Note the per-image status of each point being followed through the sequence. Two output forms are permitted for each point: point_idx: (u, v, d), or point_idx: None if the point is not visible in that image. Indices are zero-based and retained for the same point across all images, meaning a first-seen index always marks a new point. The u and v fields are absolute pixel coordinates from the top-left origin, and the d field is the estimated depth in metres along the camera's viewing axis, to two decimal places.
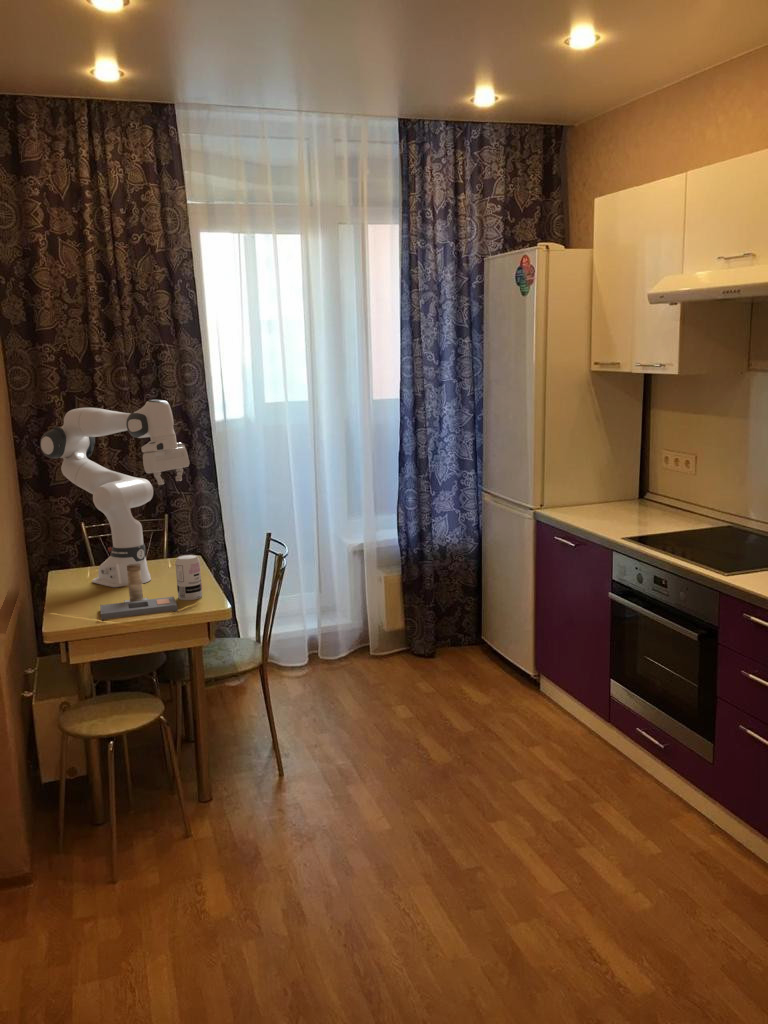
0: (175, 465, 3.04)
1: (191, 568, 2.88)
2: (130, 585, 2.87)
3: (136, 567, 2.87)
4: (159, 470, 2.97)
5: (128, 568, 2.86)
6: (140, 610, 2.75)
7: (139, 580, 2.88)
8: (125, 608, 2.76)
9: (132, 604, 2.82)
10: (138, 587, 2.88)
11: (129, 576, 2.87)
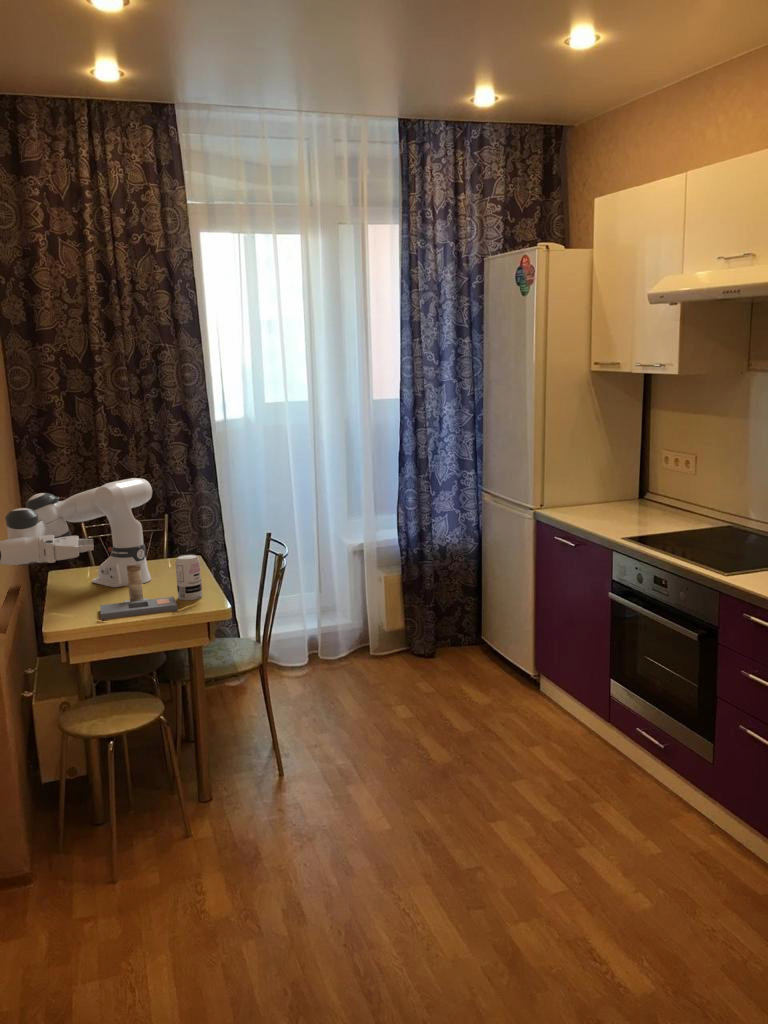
0: (74, 539, 2.82)
1: (191, 568, 2.88)
2: (130, 585, 2.87)
3: (136, 567, 2.87)
4: (76, 544, 2.75)
5: (128, 568, 2.86)
6: (140, 610, 2.75)
7: (139, 580, 2.88)
8: (125, 608, 2.76)
9: (132, 604, 2.82)
10: (138, 587, 2.88)
11: (129, 576, 2.87)
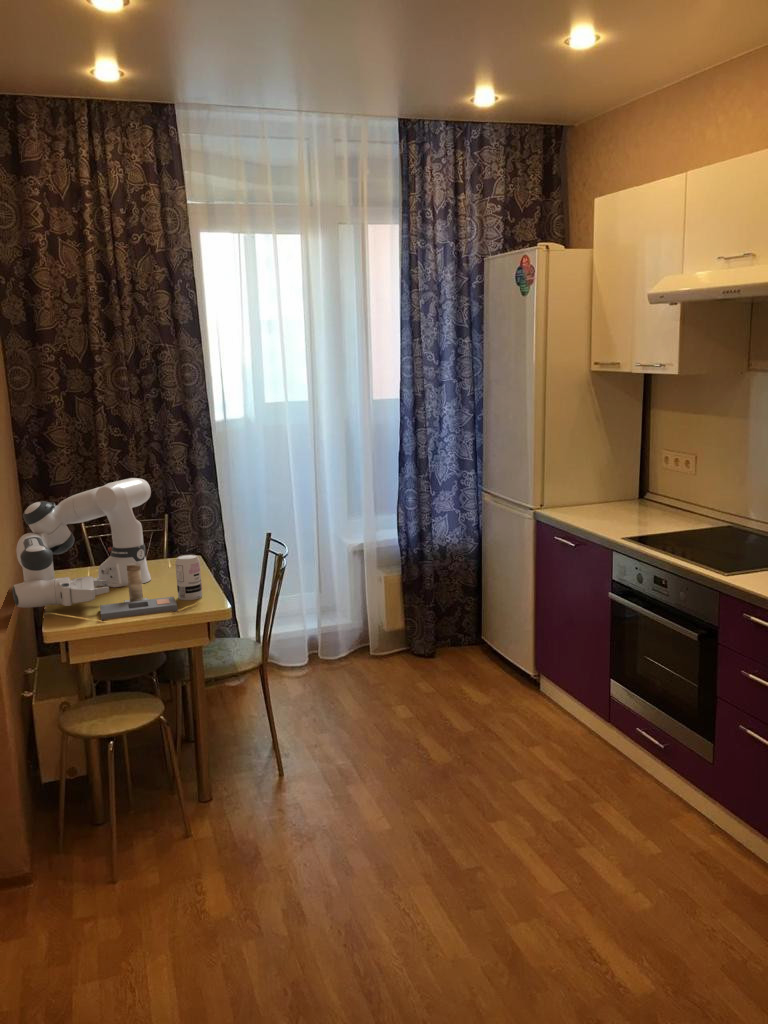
0: (89, 581, 2.86)
1: (191, 568, 2.88)
2: (130, 585, 2.87)
3: (136, 567, 2.87)
4: (92, 587, 2.78)
5: (128, 568, 2.86)
6: (140, 610, 2.75)
7: (139, 580, 2.88)
8: (125, 608, 2.76)
9: (132, 604, 2.82)
10: (138, 587, 2.88)
11: (129, 576, 2.87)
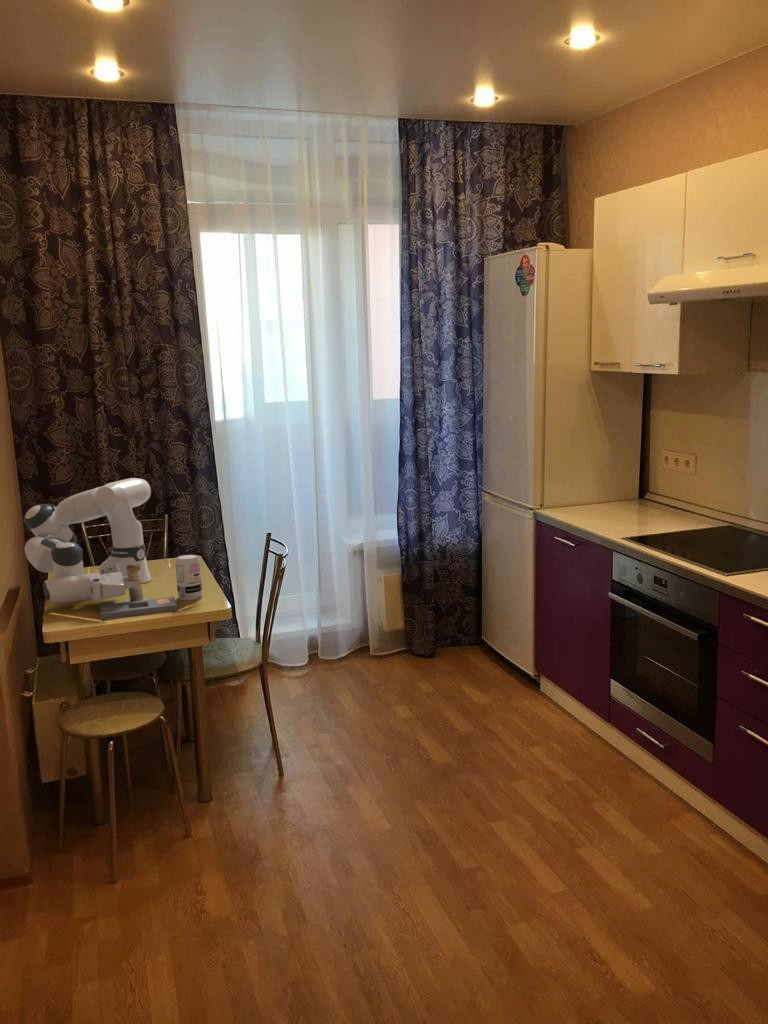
0: (119, 576, 2.89)
1: (191, 568, 2.89)
2: None
3: (136, 567, 2.86)
4: (122, 582, 2.81)
5: (128, 568, 2.86)
6: (140, 610, 2.75)
7: (139, 580, 2.88)
8: (125, 608, 2.76)
9: (132, 604, 2.82)
10: (138, 587, 2.88)
11: (129, 576, 2.87)
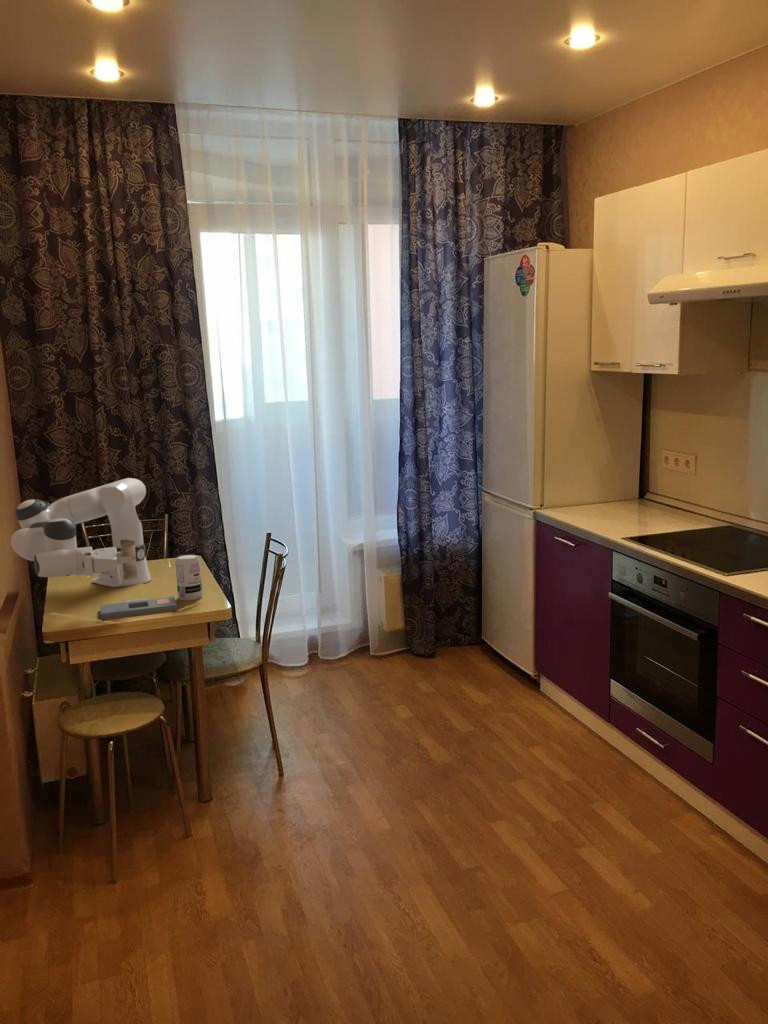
0: (112, 551, 2.78)
1: (191, 568, 2.89)
2: None
3: (130, 542, 2.75)
4: (115, 556, 2.70)
5: (121, 543, 2.75)
6: (140, 610, 2.75)
7: (133, 555, 2.77)
8: (125, 608, 2.76)
9: (132, 604, 2.82)
10: (132, 562, 2.77)
11: (122, 551, 2.76)
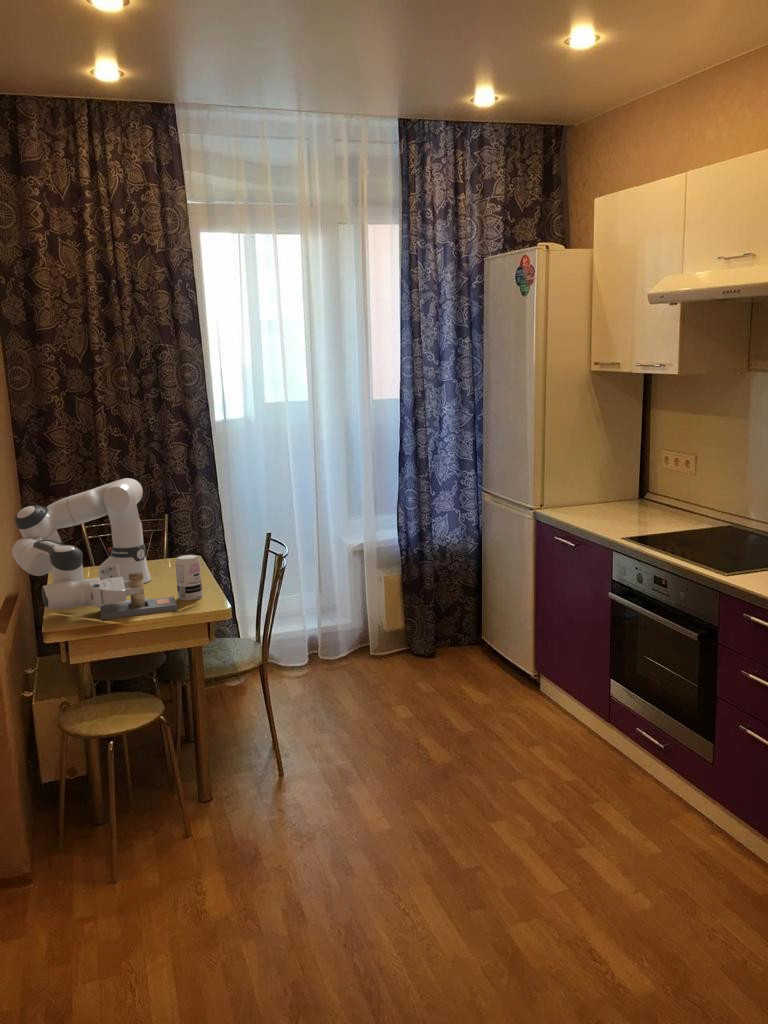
0: (120, 582, 2.78)
1: (191, 568, 2.88)
2: None
3: (138, 576, 2.76)
4: (123, 587, 2.71)
5: (130, 577, 2.76)
6: (140, 610, 2.75)
7: (141, 589, 2.78)
8: (125, 608, 2.76)
9: None
10: (141, 597, 2.78)
11: (131, 585, 2.77)
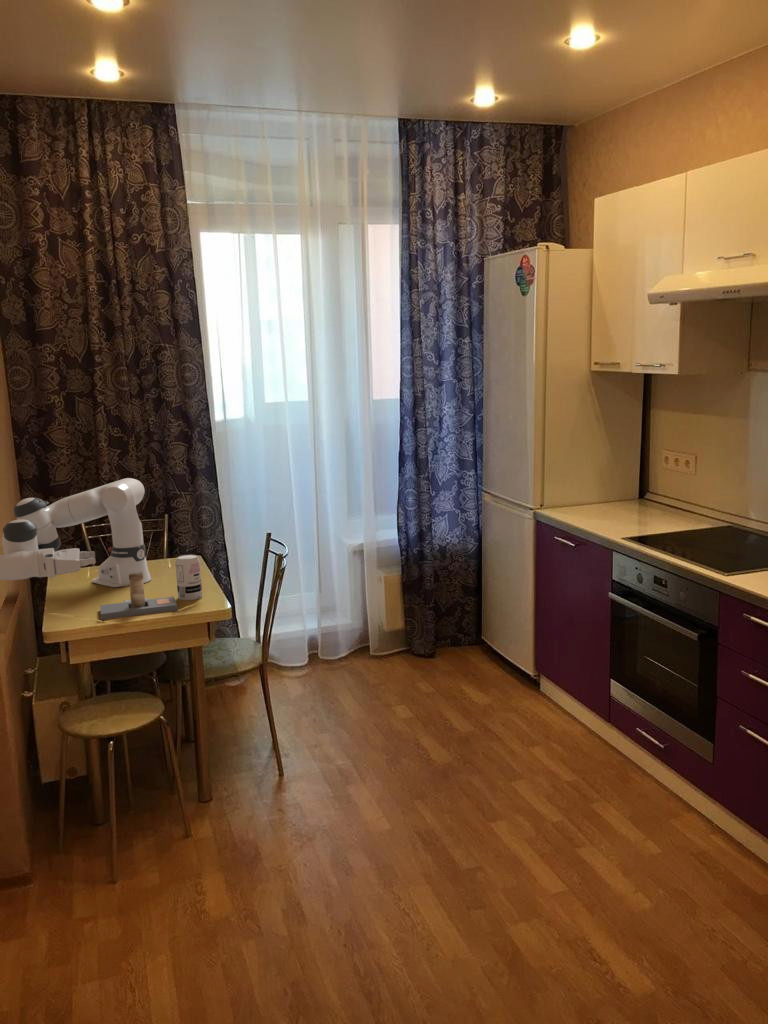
0: (75, 552, 2.72)
1: (191, 568, 2.88)
2: (132, 594, 2.77)
3: (138, 576, 2.76)
4: (77, 557, 2.64)
5: (130, 577, 2.76)
6: (140, 610, 2.75)
7: (141, 589, 2.78)
8: (125, 608, 2.76)
9: None
10: (141, 597, 2.78)
11: (131, 585, 2.77)
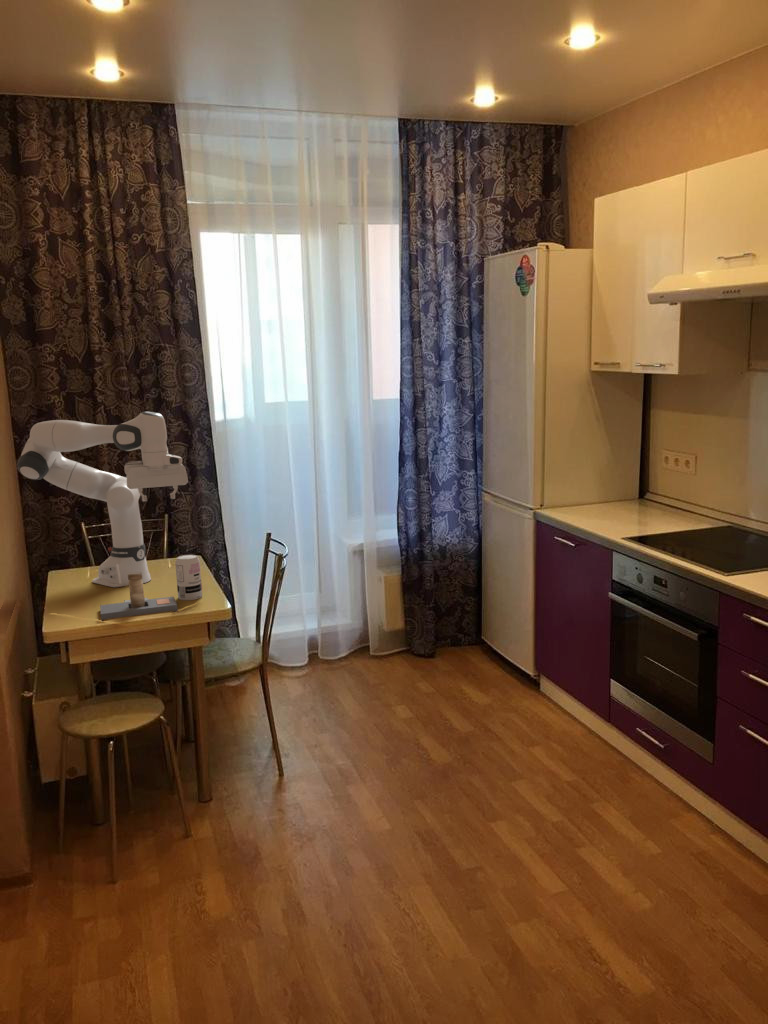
0: None
1: (191, 568, 2.88)
2: (131, 594, 2.77)
3: (138, 576, 2.76)
4: None
5: (129, 577, 2.76)
6: (140, 610, 2.75)
7: (141, 589, 2.78)
8: (125, 608, 2.76)
9: None
10: (140, 596, 2.78)
11: (130, 585, 2.77)
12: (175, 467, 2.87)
